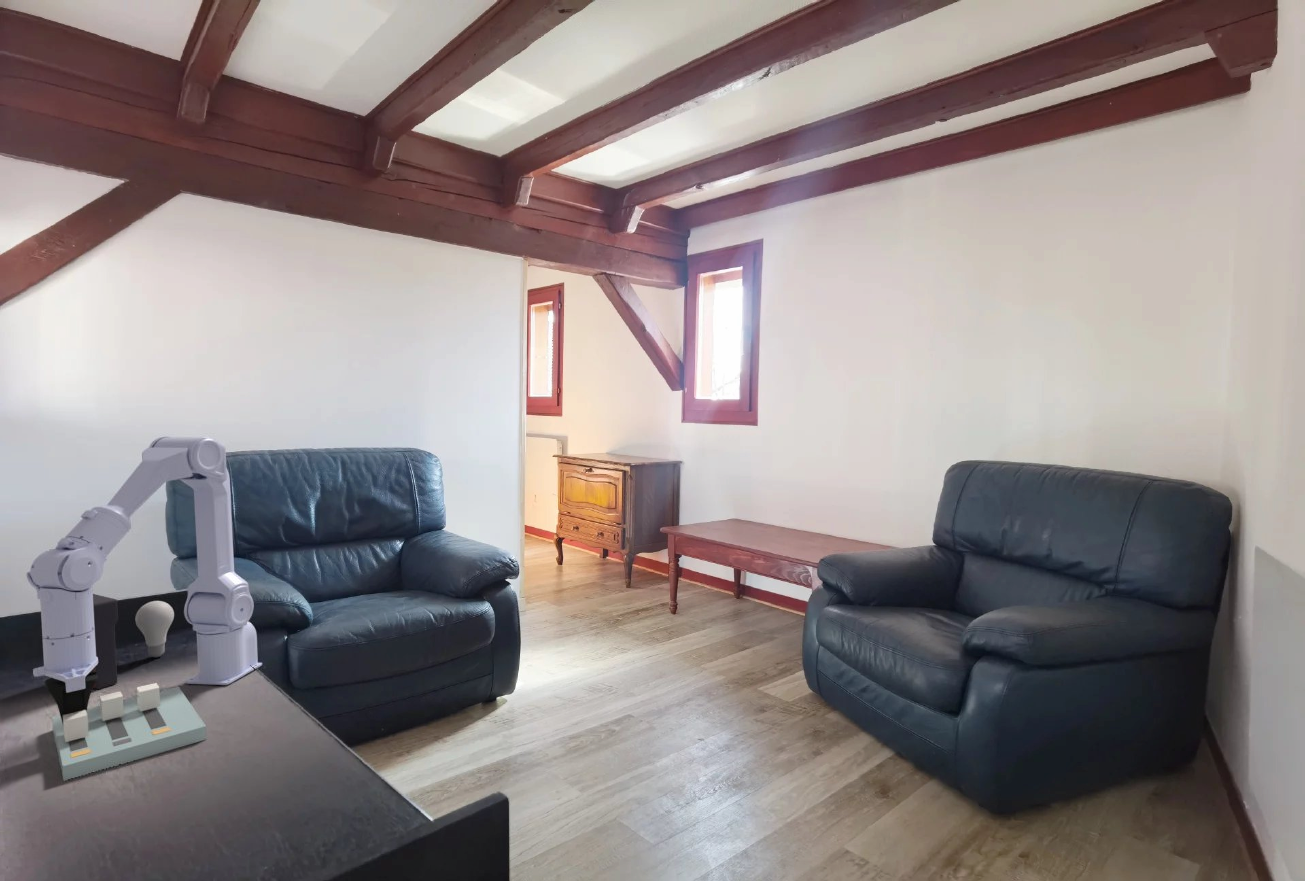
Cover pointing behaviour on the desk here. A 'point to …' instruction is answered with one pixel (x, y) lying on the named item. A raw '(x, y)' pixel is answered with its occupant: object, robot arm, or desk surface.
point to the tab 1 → (75, 725)
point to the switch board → (129, 734)
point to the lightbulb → (155, 625)
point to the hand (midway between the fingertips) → (74, 725)
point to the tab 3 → (148, 697)
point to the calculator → (105, 640)
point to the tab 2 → (111, 706)
